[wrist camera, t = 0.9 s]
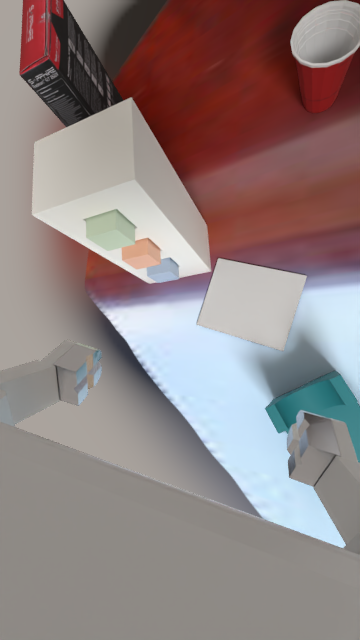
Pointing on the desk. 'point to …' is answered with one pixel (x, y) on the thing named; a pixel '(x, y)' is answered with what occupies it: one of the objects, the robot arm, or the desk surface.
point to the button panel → (118, 187)
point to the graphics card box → (62, 63)
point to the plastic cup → (325, 51)
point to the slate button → (164, 271)
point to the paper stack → (252, 302)
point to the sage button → (110, 230)
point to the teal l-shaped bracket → (319, 405)
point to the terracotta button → (142, 254)
